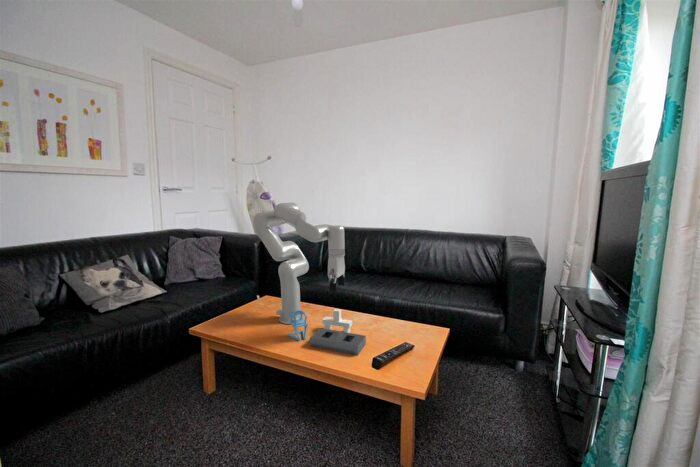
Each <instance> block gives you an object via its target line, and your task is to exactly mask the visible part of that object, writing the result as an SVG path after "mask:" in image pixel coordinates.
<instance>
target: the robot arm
mask: <svg viewBox="0 0 700 467" xmlns="http://www.w3.org/2000/svg"><path fill="white" fill-rule="evenodd" d="M306 215H307V214H305V213H304V212H303V211H301V209H300V206H299V205H298V204H297V203H295V202H280V203H278V204H277V205H275V206H274V208H273V210H265V211H260V212H258V213H256V214H255V215H254V216H253V219H252V228H253V231H254V232H255V233H256V235H257V236H258V238H259V239H260V241H262V243H263V245H264V246H265V248H266V249H267V251H268V253H269V255H270V256H271V257H272V259H273V260H274V261H275V262H281V263H280V265H278V269H277V270H278V271H277V272H278V276H279V277H278V278H279V280H280V295H281V296H280V298H281V309H279V308H278V309H277V310H276V312H275V314H276V315H279V317H278V321H279V322H280V323H281V324H284V325H291V324H290V321H291V316H290V314H291V313H292V312H294V311H297V310H299V311H301V290H300V288H301V286H300V282H299V280H298V278H297V277H300V276H303V275H305V274H306V273H308V271H309V269H310V265H309V262H308V261H309V260H307V258H306V257H305V254H303V252H302V250H301V249H300V246H299V245H298V244H297V243H295V242H294V241H293V240H287V241H283V240H282V239H281V238H280V236H279V234H278V233H277V232H276V231H275V230H273V229H272V228H271V227H278V226H283V225H285V224H287V225H289V226H291V227H293V228H294V229H295V231H296V233H297V234H298V235H299V236H300V237H302V238H303V239H306V240H307V241H309V242H312V243H318V242H323V241H327V244H328V247H327V248H328V260H327V277H328V282H329V291H330V292H337V291H338V290H337V284H338V286H343V287H344V286H346V284H345V280H346V279H345V277H346V275H345V274H346V264H345V256H346V251H345V249H346V248H345V246H346V245H345V244H346V243H345V227H344V226H343V225H332V224H318V225H313V224H311V223H308V222H307V221H306V220H307V216H306ZM282 261H283V262H282ZM295 317H296V320H298V319H301V314H297V315H295ZM304 317H305V316H304V314H302V318H303V319H304V320H305V318H304ZM292 318H293V317H292ZM293 321H294V318H293Z"/></svg>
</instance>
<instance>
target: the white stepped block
mask: <svg viewBox="0 0 700 467" xmlns="http://www.w3.org/2000/svg"><path fill="white" fill-rule="evenodd" d="M332 311H333V312H332V315H333V316H332V317H331V316H324V317H323V318H322V322H321V324H323V329H329V330H332V328H333V327H332V326H334V327H341V328H343V332H346V333H351V331H352V330H351V327H352V326H353V320H350V319H345V318H342V309H339V308H334V310H332Z"/></svg>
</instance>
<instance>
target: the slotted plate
mask: <svg viewBox="0 0 700 467" xmlns="http://www.w3.org/2000/svg"><path fill="white" fill-rule="evenodd" d="M366 341H367V337H366V335H365V334H358V333H351V332H350V333H346V332H344V331H340V330H335V329H330V330H329V329H324V327H323V328H319V329H318V330H317V331H315V333H313V334H312V335H311V336H310V337H309V343H310V344H309V346H310V347H313V348H318V349H323V350H329V351H334V352H339V353H345V354H349V355H355V356H359V355H360V353H361V352H362V351H363V349H364V348H365V346H366V345H367V342H366Z"/></svg>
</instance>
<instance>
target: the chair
mask: <svg viewBox="0 0 700 467" xmlns="http://www.w3.org/2000/svg"><path fill="white" fill-rule="evenodd" d="M297 314H301V319H298V320H296V317H295V315H297ZM302 315H303V316H304V317H305V318H304V319H303V318H302ZM290 316H291V321H290V324H289V325H290V326H291V327H292V328H293V330H294V332H290V333H288V334H287V336H288V337H290V338H291V339H294V340H296V341H299V342H301V340H302V338H303V340H305V341H306V340H307V331H308V330H307V329H308V326H309V323H308V322H307V318H308V315H307V313H306V311H303V310H300V311H299V310H297V311H294V312H292V313H291V314H290ZM292 317H293V318H294V321H293V318H292ZM301 327H304V329H301V330H298V331H297V329H298V328H301ZM299 334H302V338H301V336H300V335H299Z"/></svg>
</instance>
